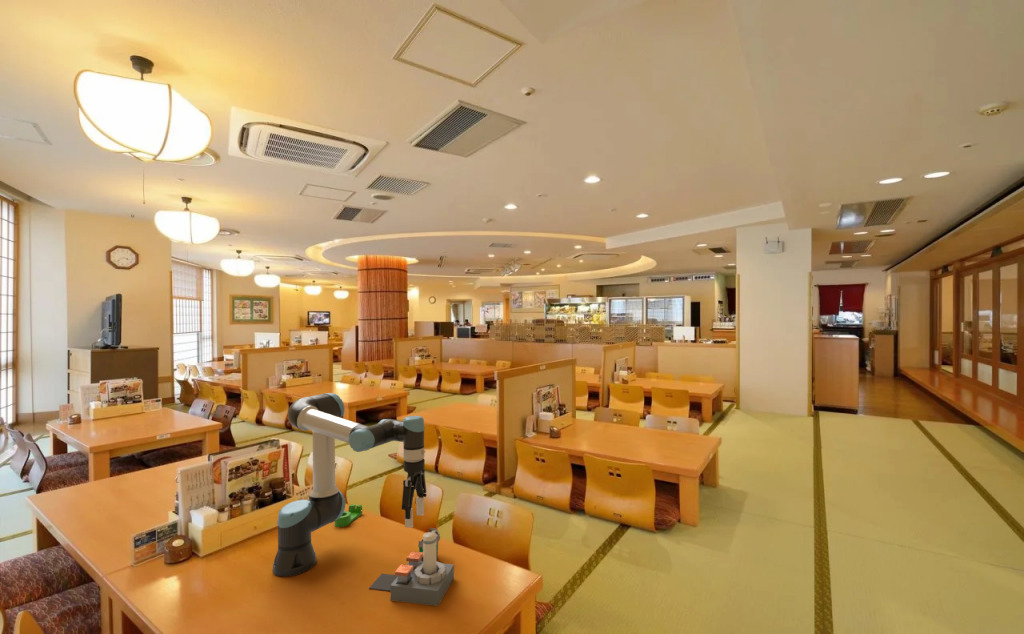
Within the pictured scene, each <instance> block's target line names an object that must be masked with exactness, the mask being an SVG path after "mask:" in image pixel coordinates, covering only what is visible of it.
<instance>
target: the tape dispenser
mask: <svg viewBox="0 0 1024 634" xmlns="http://www.w3.org/2000/svg"><path fill="white" fill-rule="evenodd" d="M361 510H362V511H361ZM362 515H363V506H362V504H356V503H355V504H354V503H352V504H350V505H349V506H348V511H347V510H344V513H343V514H342V516H341V517H340V518H338V519H337V520H335V521H334V522H333V523H334V527H336V528H343V527H344V526H345V527H347V526H349V525H350V524H351V523H352V522H353V521H355V520H356V519H358V518H359V517H360V516H362Z"/></svg>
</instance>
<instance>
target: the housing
mask: <svg viewBox="0 0 1024 634" xmlns="http://www.w3.org/2000/svg"><path fill="white" fill-rule="evenodd" d="M406 565H409V562H408V563H406ZM454 565H455V564H453V563H452V564H451V563H442V562H440V561H437V573H434V574H432V575H425V574H423V561H421V564H420V566H419V565H418V566H417V568H416V569H415V570H412V572H411V581H410V582H409V584H408V585H403V584H398V577H397V578H396V579H395V580H394V582H393V583H392V584H391V585H390V586H391V591H390V601H393V602H395V601H396V602H402V603H410V604H417V605H418V604H419V605H426V606H434V607H435V606H436V607H439V606H440V603H441V601H442V600H443V598H444V596H445V595H446V593H447V591H448V589H449V587H450V586H451V585H452V582H453V581H454V578H455V566H454Z"/></svg>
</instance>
